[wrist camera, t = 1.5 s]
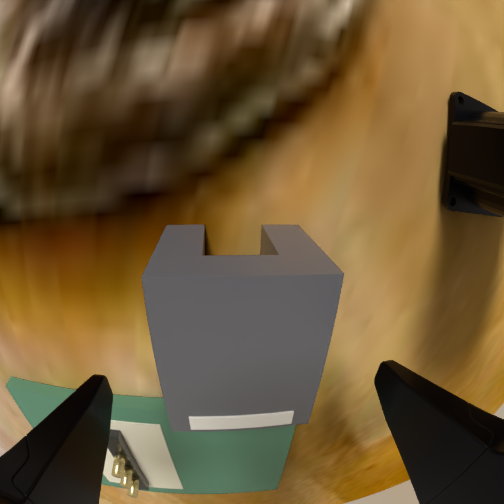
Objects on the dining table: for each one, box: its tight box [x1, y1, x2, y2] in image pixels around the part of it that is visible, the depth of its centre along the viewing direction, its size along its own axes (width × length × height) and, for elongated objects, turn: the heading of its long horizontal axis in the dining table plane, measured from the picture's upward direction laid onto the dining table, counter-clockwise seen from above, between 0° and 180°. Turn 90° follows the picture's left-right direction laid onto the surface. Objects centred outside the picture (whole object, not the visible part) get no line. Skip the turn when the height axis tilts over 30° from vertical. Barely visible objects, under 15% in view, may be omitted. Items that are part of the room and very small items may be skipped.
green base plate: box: [6, 377, 296, 494], centre depth 17 cm, size 20×14×1 cm
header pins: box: [108, 429, 149, 498], centre depth 15 cm, size 1×9×2 cm, turn 178°
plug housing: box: [142, 225, 344, 432], centre depth 11 cm, size 6×7×5 cm
